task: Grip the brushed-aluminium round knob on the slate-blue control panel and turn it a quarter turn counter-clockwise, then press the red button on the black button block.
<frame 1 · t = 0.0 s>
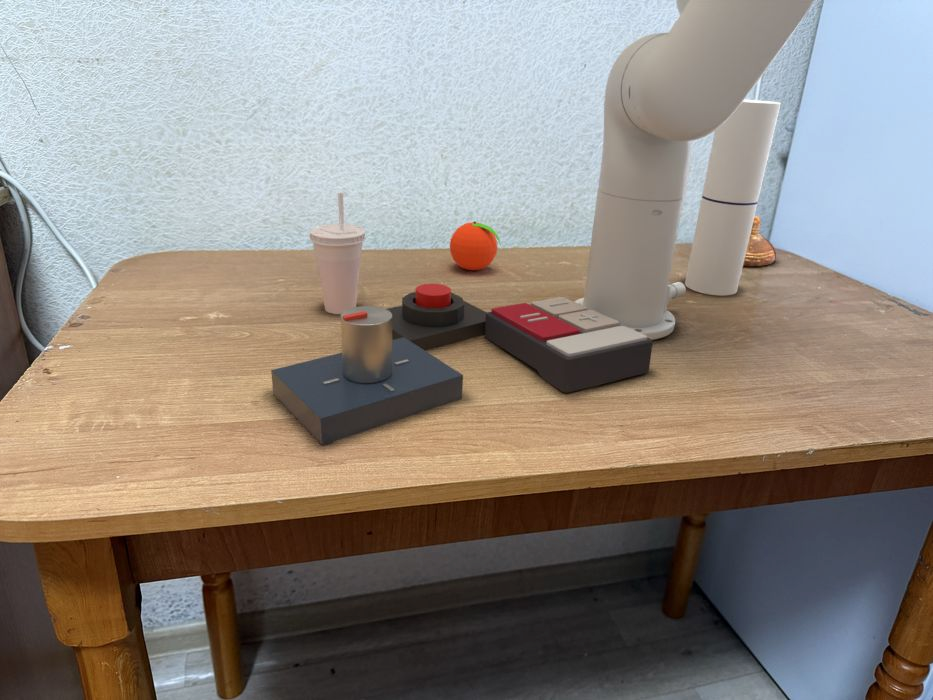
calculator: (562, 356, 69), on the table
bell: (736, 258, 108), on the table
button: (433, 296, 72), point 4 cm above the table, slide at 0.1 cm
button block: (432, 329, 74), on the table
clementine: (475, 271, 95), on the table
cylindrical container: (710, 288, 93), on the table
panel: (368, 396, 59), on the table
smoothie: (340, 310, 78), on the table
knob: (367, 342, 57), point 5 cm above the table, hinge at 0.0°
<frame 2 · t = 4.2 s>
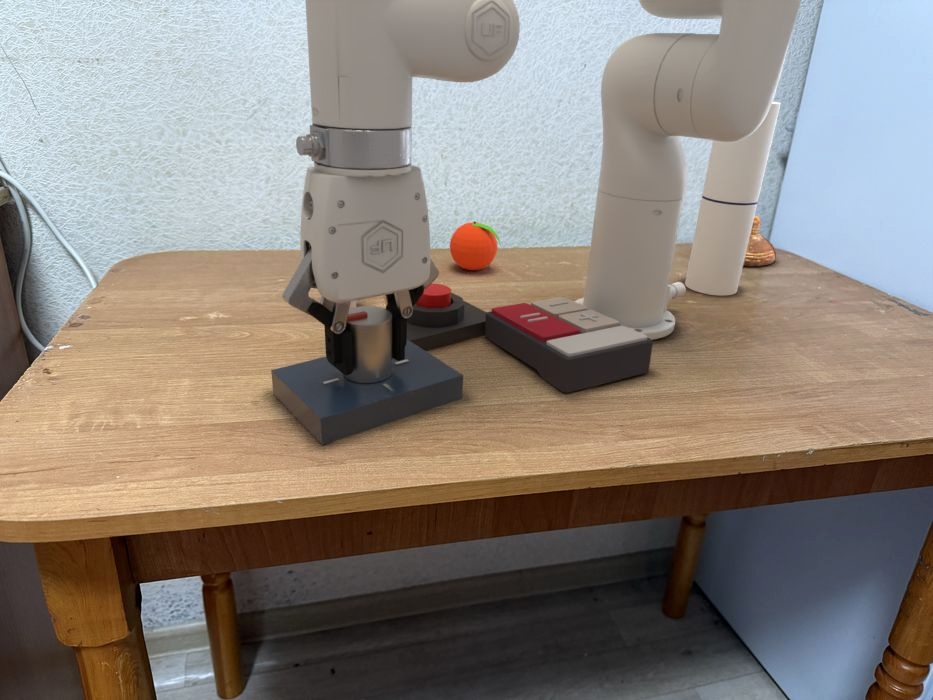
hand: (367, 359, 57), 4 cm above the table, tool pointing down, fingers closed on knob, 4 cm apart
knob: (367, 342, 57), point 5 cm above the table, hinge at 0.0°, touching gripper
everything else where it was.
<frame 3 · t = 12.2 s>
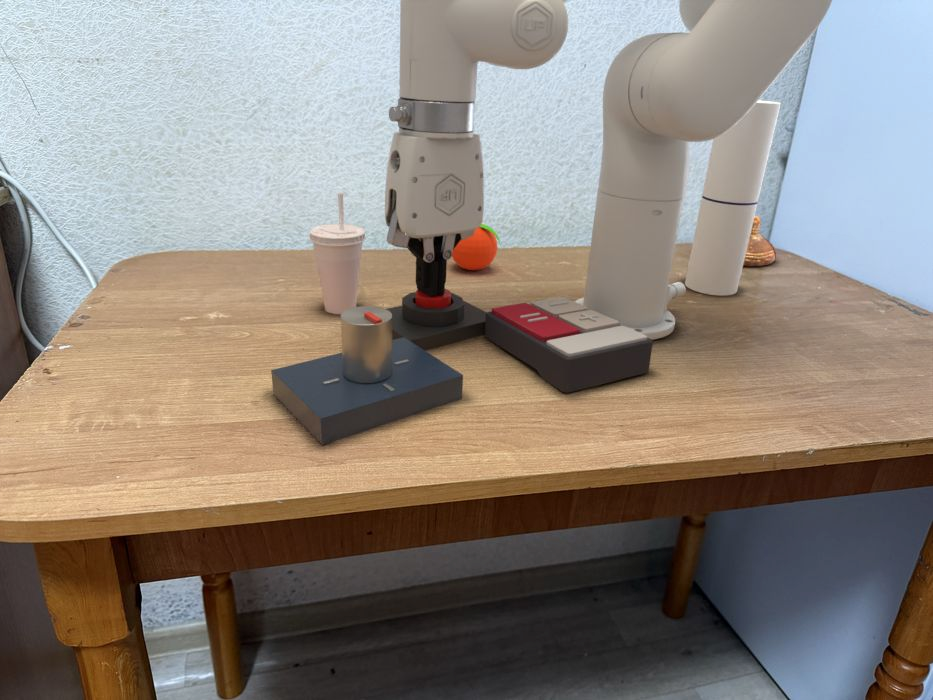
hand: (430, 292, 72), 5 cm above the table, tool pointing down, fingers closed
button: (433, 299, 72), point 4 cm above the table, slide at -0.3 cm, touching gripper
knob: (367, 342, 57), point 5 cm above the table, hinge at 90.0°
everything else where it was.
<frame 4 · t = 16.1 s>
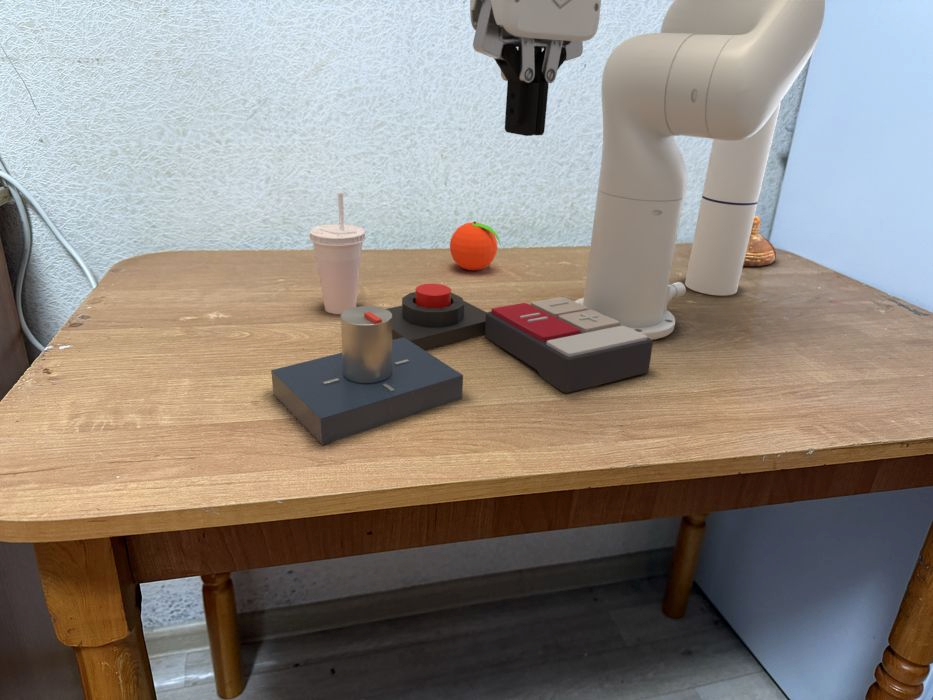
hand: (523, 133, 54), 23 cm above the table, tool pointing down, fingers closed
button: (433, 296, 72), point 4 cm above the table, slide at 0.1 cm
everything else where it was.
at the end: knob at +90° (first picture: +0°); button pushed in 1.0 cm at the most during the clip, back to where it started at the end; button slide at 0.1 cm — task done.
